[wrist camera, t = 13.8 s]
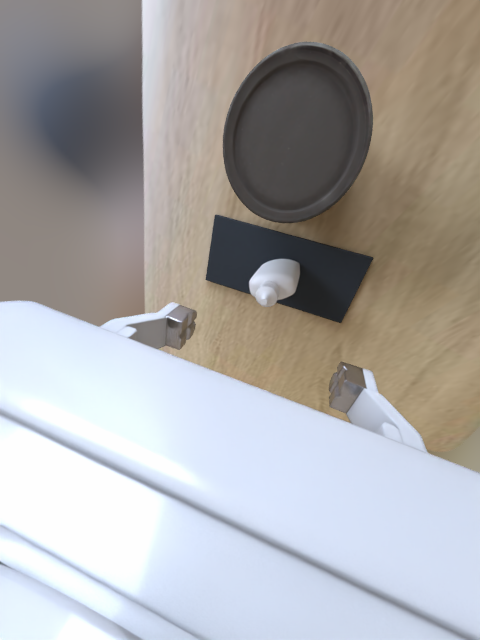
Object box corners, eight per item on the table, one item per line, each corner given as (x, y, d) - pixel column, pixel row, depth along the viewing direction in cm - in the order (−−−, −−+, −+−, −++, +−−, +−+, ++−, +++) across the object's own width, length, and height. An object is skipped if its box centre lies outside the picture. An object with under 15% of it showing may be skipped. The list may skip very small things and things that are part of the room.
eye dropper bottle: (291, 291, 36) (279, 330, 26) (257, 275, 36) (232, 307, 26) (305, 264, 34) (298, 295, 23) (268, 248, 34) (246, 271, 24)
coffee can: (334, 217, 30) (342, 233, 18) (255, 205, 32) (217, 213, 20) (364, 112, 25) (402, 41, 13) (268, 106, 27) (228, 39, 15)
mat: (216, 214, 34) (214, 214, 34) (372, 257, 31) (373, 258, 31) (206, 279, 40) (205, 279, 39) (340, 321, 36) (340, 323, 36)
